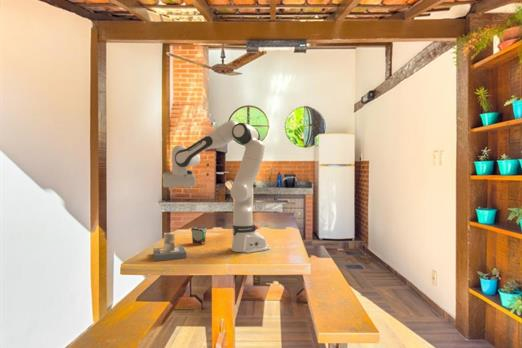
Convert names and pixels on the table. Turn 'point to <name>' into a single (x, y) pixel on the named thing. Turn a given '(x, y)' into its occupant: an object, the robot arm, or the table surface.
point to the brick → (169, 241)
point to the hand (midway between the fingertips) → (179, 194)
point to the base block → (169, 253)
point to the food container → (198, 235)
